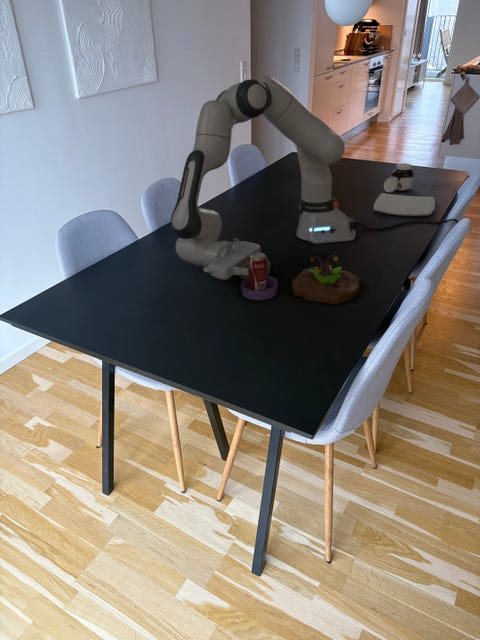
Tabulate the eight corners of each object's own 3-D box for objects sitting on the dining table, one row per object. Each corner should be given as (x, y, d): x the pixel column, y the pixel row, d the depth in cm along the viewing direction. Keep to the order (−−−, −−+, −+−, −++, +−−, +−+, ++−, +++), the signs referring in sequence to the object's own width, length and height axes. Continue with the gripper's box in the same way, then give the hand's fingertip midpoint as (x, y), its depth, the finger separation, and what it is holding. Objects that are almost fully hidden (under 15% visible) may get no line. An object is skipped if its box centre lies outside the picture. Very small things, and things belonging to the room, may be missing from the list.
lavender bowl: (277, 283, 151) (277, 274, 149) (277, 301, 141) (277, 291, 140) (242, 284, 152) (242, 275, 150) (240, 301, 142) (239, 291, 141)
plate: (369, 215, 199) (370, 209, 197) (378, 197, 218) (379, 192, 216) (432, 221, 190) (433, 214, 189) (435, 202, 209) (436, 196, 208)
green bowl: (270, 265, 162) (270, 256, 161) (269, 280, 153) (269, 271, 151) (238, 265, 163) (237, 257, 162) (235, 280, 154) (235, 271, 152)
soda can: (249, 288, 148) (248, 252, 142) (266, 286, 149) (265, 251, 142) (251, 296, 144) (249, 259, 138) (268, 294, 144) (267, 258, 138)
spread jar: (413, 189, 227) (417, 164, 220) (406, 195, 219) (410, 170, 212) (388, 186, 232) (391, 161, 226) (381, 192, 224) (384, 167, 218)
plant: (344, 310, 135) (347, 274, 129) (282, 295, 144) (282, 261, 139) (368, 281, 149) (371, 248, 143) (310, 269, 159) (312, 237, 153)
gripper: (198, 259, 140) (237, 269, 133) (237, 236, 154) (274, 244, 147) (200, 278, 143) (238, 289, 137) (238, 254, 158) (274, 262, 151)
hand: (257, 265), depth 142 cm, fingers open, 8 cm apart
